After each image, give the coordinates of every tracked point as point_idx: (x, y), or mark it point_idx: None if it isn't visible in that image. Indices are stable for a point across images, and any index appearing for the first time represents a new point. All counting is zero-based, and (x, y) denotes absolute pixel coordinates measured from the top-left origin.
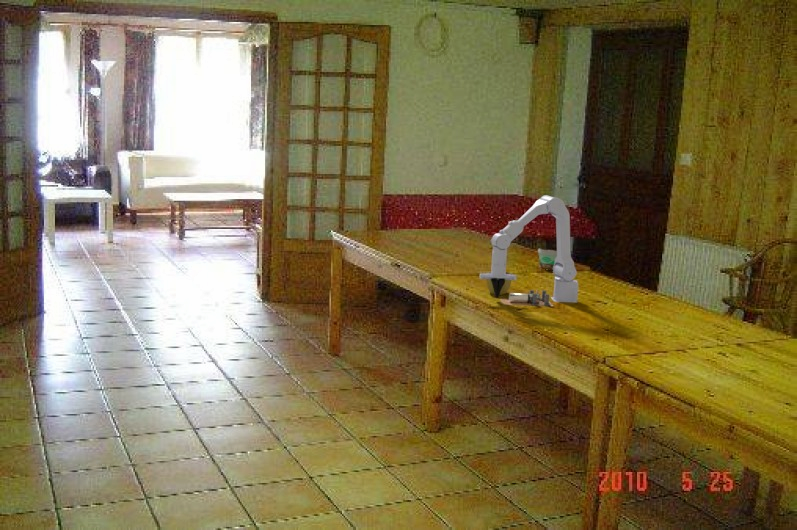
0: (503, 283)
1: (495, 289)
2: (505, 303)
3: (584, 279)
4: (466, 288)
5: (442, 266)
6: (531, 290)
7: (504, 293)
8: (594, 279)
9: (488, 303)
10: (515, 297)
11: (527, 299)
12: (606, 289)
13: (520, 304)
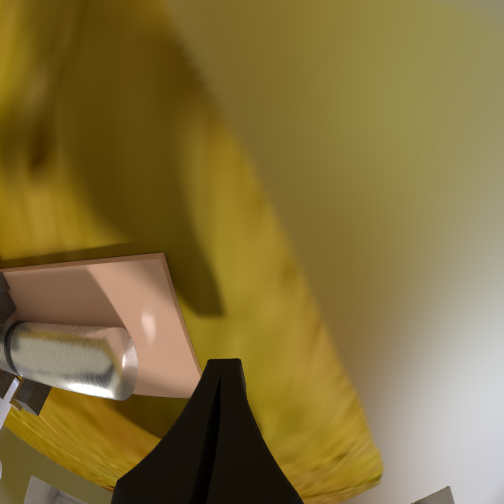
0: (128, 482)
1: (242, 423)
2: (147, 294)
3: (77, 469)
4: (339, 460)
5: (332, 501)
6: (25, 406)
7: None
8: (66, 465)
9: (298, 300)
10: (67, 343)
11: (18, 327)
12: (15, 427)
13: (49, 284)
